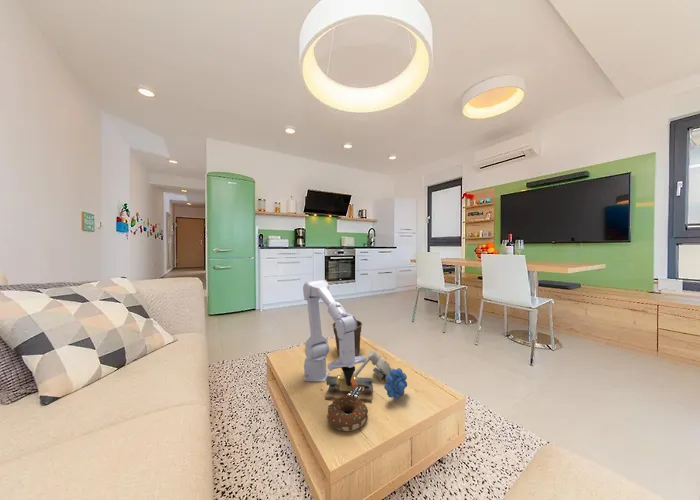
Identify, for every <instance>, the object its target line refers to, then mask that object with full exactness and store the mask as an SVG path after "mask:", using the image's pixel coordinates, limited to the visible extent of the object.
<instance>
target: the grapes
mask: <svg viewBox="0 0 700 500" xmlns="http://www.w3.org/2000/svg"><path fill="white" fill-rule="evenodd" d="M391 369H392V368H391ZM407 378H408V377H407V374H406V373H405V372H403V369H402V368H396V369H395V368H394V369H392V370H391V371H390V375H387V376H386V375H385V383H384V385H383V387H384V389H385V391H386V395H387V397H389V398H393V399H394V400H398V399H399V398H400V396H404V394H405V392H406V391H405V390H406V388H407V387H408V382H407Z"/></svg>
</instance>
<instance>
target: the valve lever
mask: <svg viewBox="0 0 700 500" xmlns="http://www.w3.org/2000/svg"><path fill="white" fill-rule="evenodd" d="M350 385H351V387H352V389H354V388H357V382H356V380H355V379H354V377H352V378H351V382H350Z"/></svg>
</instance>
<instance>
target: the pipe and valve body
mask: <svg viewBox="0 0 700 500" xmlns="http://www.w3.org/2000/svg"><path fill="white" fill-rule="evenodd" d="M354 373H355V372H354ZM354 373H353V375H352V377H354V379H355V380H356V382H357V387H364V394H370V387H372V385H373V378H372V377H360V376H359V377H358V375H357V376H354ZM325 383H326V385H327V386H328V388H329V392H335V389H336V386H337V387H340V391H353V389H352V387H351V385H350V386H347V384H346V378H345V375H344V373H343V371H341V372H340V374H338V375H337V376H333V375H328V376H327V378H326V380H325ZM329 385H330V386H329Z"/></svg>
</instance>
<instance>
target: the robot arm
mask: <svg viewBox="0 0 700 500" xmlns="http://www.w3.org/2000/svg"><path fill="white" fill-rule="evenodd" d="M329 285H330V284H329V282H328V281H327V280H326V279H320V280H311V281H306V282H304V284H303V287H302V291H303V298H304V300H305V301H307V302H306V303H307V311H308V321H309V330H310V331H309V332H310V336H309V338H308V339H306V341H305V347H304V353H305V358H304V363H303V369H304V370H303V371H304V379H303V380H304V381H305V382H318V383H319V382H321V383H324V382H325V383H326V380H327V376H329V373H330V372H332V371H334V370H336V369H341V372H343V373H344V375H345V378H346V384H347V386H350V382H351V378H352V375H353V373H355V372H356V366H355V365H357V364H361V363H362V364H363V363H366V359H367V357H366V356H365V355H356V356H355V340H354V330H356V329H357V321H356V320H357V318H356V317H355V315H354V314H351V313H348V312H347V311H346V309H345V308H344V307H343V305H342V304H341V303H340V302H338V301H336V299H335V298H334V297H333V295H332V293H331V292H330V286H329ZM320 300H322V302H324V303H323V304H325V305H326V306H327V313H328V314H329V316H330V317H331V318H332V320H333V323H334V322H335V323H336V324H335V327H336V330H337V336H338V338H339V354H340V356H339V359H337V360H335V361H332V362H329V363H327V362H326V361H327V357H328V354H330V345H329V342H328V338H327V337H326V336H324V335H323V334H322V333H323V331H322V324H321V313H320V306H319V305H320V304H319V301H320ZM327 369H328V371H327Z"/></svg>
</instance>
